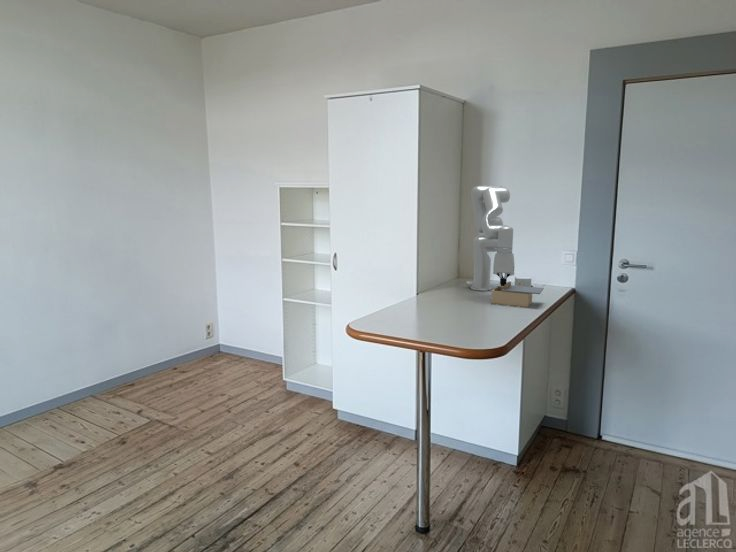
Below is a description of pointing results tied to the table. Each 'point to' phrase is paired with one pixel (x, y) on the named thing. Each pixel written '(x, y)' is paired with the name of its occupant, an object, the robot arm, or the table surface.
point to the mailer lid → (521, 289)
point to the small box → (523, 281)
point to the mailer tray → (510, 298)
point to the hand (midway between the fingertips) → (503, 285)
